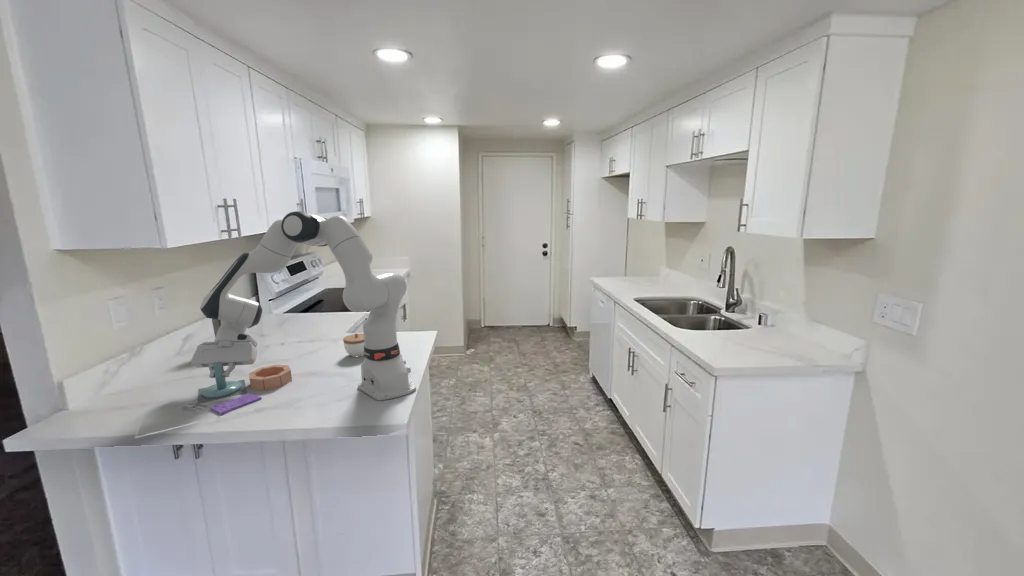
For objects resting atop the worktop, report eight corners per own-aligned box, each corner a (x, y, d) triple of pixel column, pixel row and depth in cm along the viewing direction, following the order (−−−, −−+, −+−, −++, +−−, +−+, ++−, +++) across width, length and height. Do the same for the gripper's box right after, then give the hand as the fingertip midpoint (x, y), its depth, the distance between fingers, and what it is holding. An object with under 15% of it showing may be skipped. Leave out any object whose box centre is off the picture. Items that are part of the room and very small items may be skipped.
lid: (242, 392, 150) (238, 364, 148) (201, 401, 144) (196, 373, 142) (241, 380, 160) (236, 355, 158) (202, 389, 153) (197, 362, 151)
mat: (246, 394, 150) (246, 392, 150) (197, 405, 142) (197, 404, 142) (244, 380, 161) (244, 379, 161) (198, 390, 154) (198, 389, 154)
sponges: (210, 412, 139) (209, 406, 138) (251, 396, 149) (251, 391, 148) (221, 417, 135) (220, 412, 134) (262, 401, 145) (261, 396, 145)
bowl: (293, 384, 157) (292, 373, 156) (252, 394, 150) (250, 382, 149) (288, 373, 167) (287, 362, 166) (249, 381, 160) (247, 370, 159)
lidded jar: (363, 359, 180) (360, 338, 178) (339, 358, 182) (337, 337, 180) (376, 350, 190) (374, 330, 188) (353, 349, 192) (351, 329, 190)
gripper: (194, 338, 154) (181, 375, 146) (254, 335, 156) (245, 371, 148) (203, 346, 159) (192, 382, 152) (262, 343, 161) (253, 378, 154)
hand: (219, 376), depth 150 cm, fingers closed on lid, 3 cm apart
